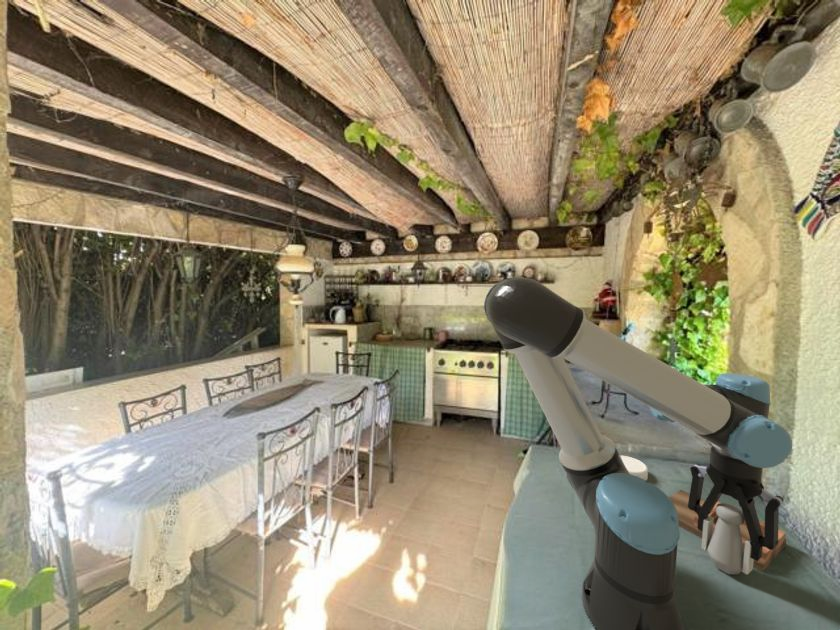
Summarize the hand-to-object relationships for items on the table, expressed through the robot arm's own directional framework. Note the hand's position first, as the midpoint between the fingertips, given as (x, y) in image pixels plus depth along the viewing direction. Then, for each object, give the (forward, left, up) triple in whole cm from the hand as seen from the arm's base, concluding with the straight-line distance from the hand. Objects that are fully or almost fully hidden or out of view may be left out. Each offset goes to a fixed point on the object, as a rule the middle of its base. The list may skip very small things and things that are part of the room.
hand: (726, 558), depth 67 cm
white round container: (+17, +29, -2) cm, 34 cm away
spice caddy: (+12, +6, -2) cm, 14 cm away
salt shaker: (0, 0, -2) cm, 2 cm away
